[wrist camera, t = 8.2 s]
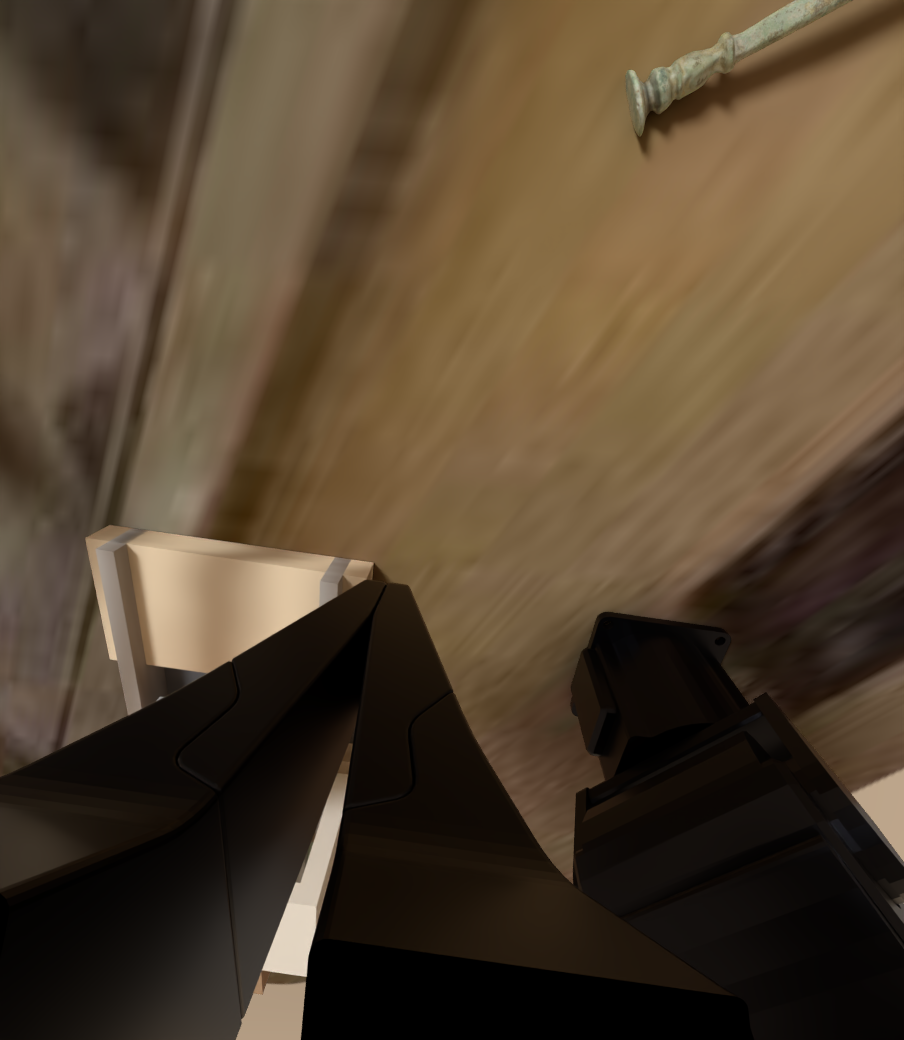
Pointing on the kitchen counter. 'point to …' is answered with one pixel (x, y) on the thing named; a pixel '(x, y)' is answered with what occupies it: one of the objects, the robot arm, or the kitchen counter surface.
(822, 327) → the kitchen counter surface
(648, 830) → the robot arm
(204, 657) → the track deck
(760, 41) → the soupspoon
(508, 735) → the kitchen counter surface
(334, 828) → the tunnel
